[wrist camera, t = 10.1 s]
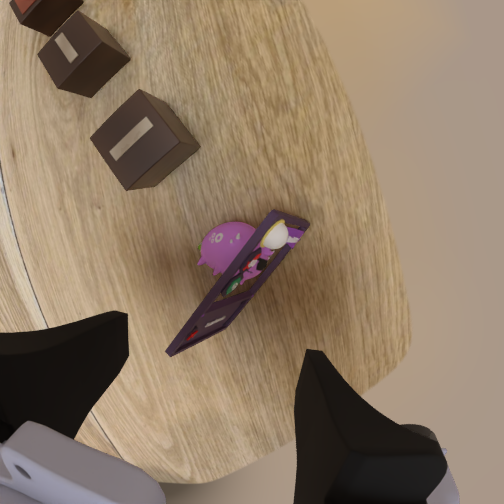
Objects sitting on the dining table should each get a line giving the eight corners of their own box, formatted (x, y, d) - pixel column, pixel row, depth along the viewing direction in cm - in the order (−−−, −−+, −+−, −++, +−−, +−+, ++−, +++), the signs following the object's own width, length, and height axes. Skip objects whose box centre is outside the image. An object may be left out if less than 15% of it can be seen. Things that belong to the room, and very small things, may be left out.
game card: (178, 368, 15) (292, 225, 13) (116, 297, 17) (205, 155, 14) (233, 336, 22) (320, 231, 19) (182, 284, 23) (257, 180, 21)
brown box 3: (165, 101, 19) (138, 87, 15) (201, 147, 19) (180, 141, 15) (121, 142, 20) (88, 137, 16) (154, 187, 20) (124, 191, 16)
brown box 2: (106, 28, 18) (76, 9, 14) (131, 59, 18) (101, 40, 14) (69, 66, 19) (35, 53, 15) (90, 98, 19) (56, 88, 15)
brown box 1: (68, -17, 17) (42, -34, 13) (84, 2, 17) (56, -17, 13) (36, 16, 17) (8, 3, 13) (50, 37, 18) (19, 23, 14)
